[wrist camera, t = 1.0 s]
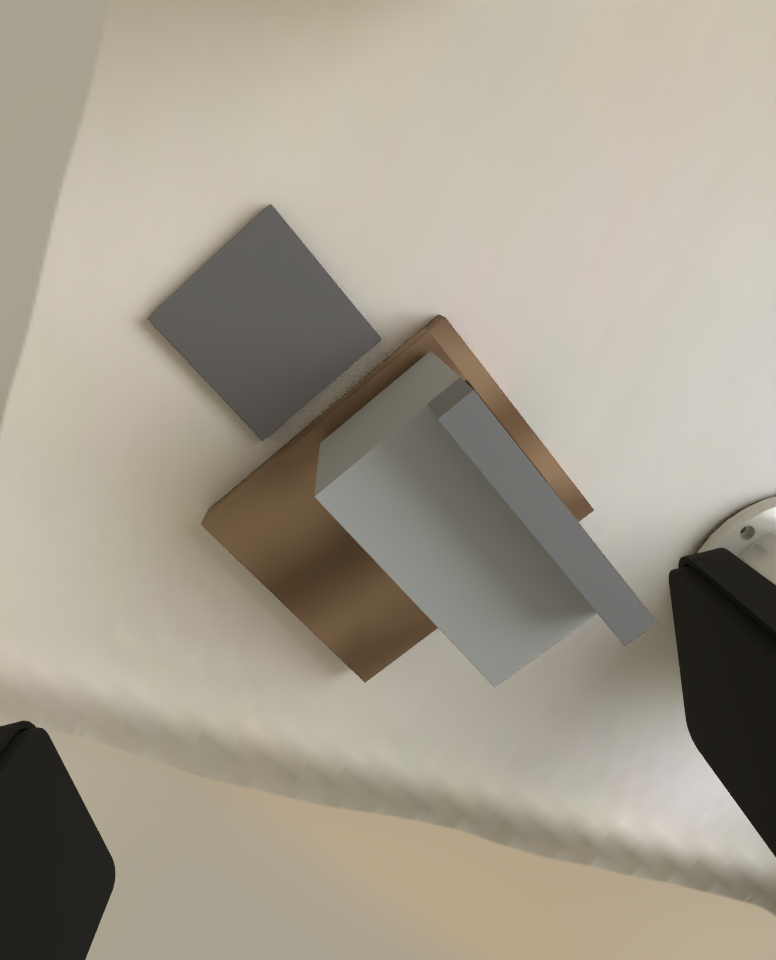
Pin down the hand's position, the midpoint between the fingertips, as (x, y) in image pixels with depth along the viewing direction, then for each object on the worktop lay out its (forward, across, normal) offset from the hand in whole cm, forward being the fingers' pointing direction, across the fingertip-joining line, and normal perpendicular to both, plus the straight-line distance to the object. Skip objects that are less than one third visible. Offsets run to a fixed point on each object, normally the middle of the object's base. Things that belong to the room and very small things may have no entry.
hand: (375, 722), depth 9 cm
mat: (+25, +4, -5) cm, 26 cm away
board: (+25, 0, +6) cm, 26 cm away
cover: (+23, -3, +5) cm, 24 cm away
